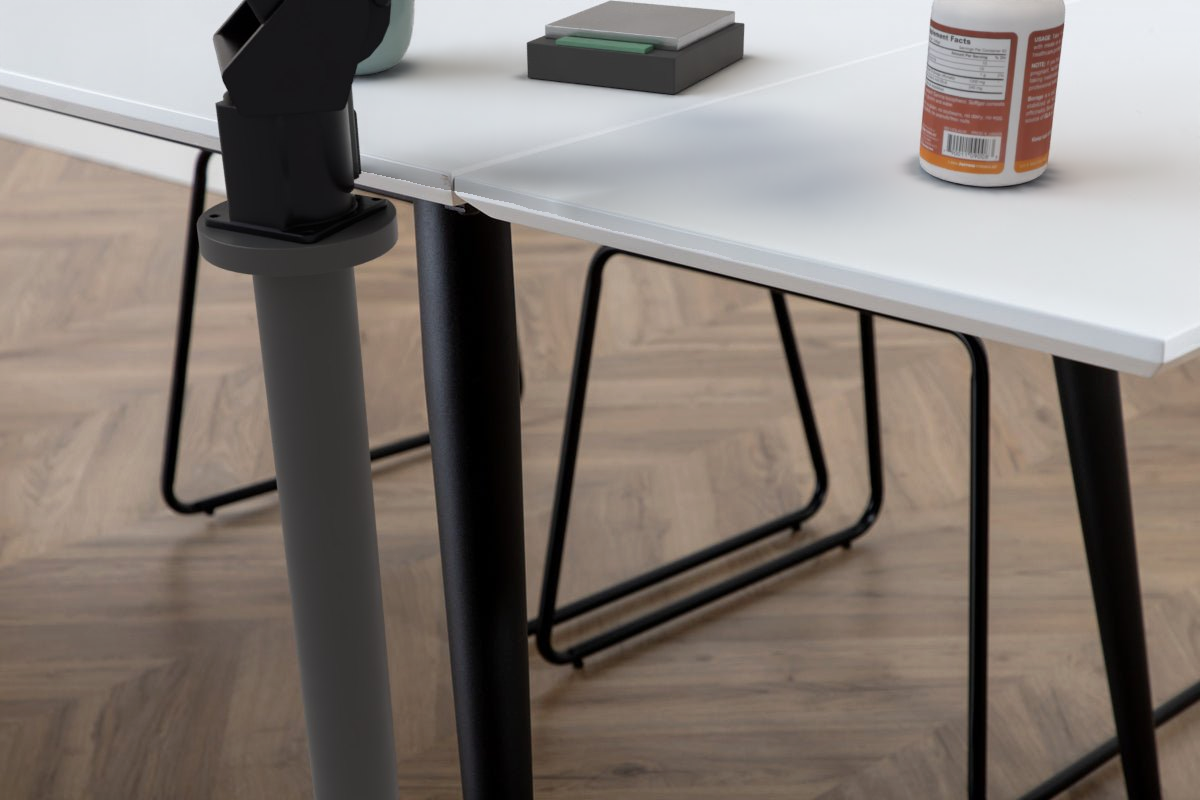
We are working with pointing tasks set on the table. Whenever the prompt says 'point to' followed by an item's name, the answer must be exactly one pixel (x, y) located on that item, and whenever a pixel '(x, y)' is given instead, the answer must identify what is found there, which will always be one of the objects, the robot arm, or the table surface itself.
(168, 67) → the table surface
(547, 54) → the kitchen scale
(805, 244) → the table surface
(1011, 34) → the pill bottle
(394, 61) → the cup
